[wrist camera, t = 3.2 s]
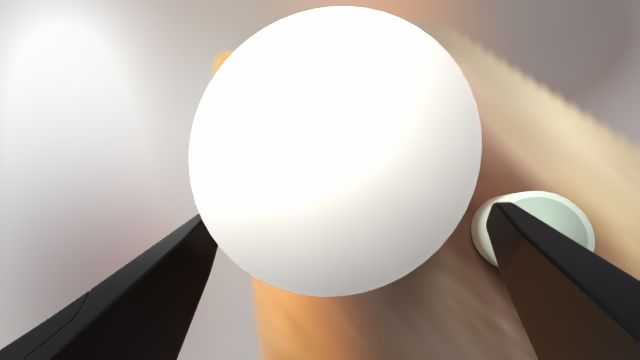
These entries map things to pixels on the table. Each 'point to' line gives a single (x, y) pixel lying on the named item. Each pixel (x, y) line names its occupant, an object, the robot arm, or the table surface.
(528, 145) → the table surface
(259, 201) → the white rounded tall piece
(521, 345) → the table surface
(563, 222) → the sage bowl
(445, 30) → the table surface
